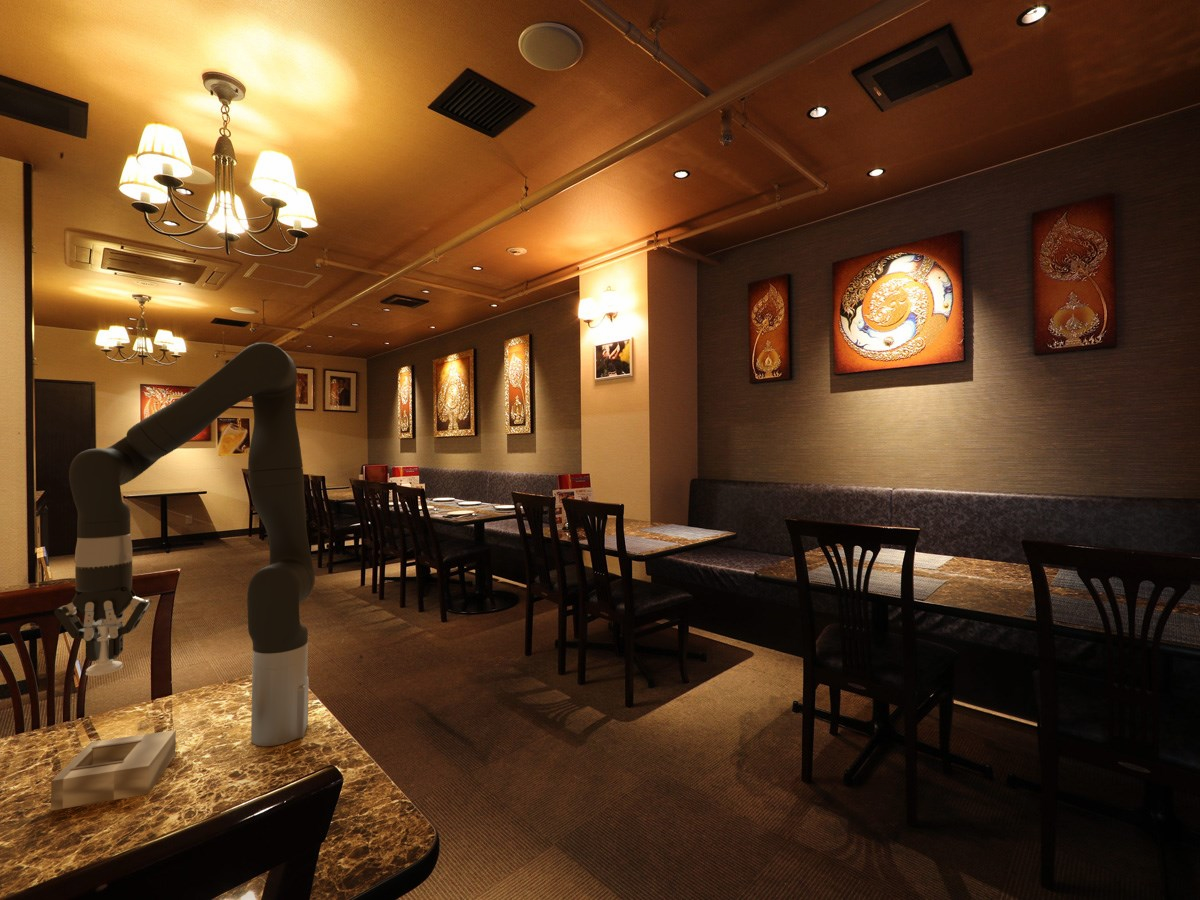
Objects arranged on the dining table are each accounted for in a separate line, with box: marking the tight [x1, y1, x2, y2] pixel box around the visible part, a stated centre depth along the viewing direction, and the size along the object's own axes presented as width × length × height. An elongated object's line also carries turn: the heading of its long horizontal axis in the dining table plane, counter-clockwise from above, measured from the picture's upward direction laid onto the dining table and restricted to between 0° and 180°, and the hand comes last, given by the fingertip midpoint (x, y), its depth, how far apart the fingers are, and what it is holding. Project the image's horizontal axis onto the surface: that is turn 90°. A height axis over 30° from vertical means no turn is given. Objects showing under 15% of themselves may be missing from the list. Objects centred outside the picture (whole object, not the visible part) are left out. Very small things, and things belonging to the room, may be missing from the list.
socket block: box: [50, 729, 177, 811], centre depth 91 cm, size 12×12×5 cm
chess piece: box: [85, 619, 124, 677], centre depth 98 cm, size 5×5×10 cm
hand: (104, 658), depth 98 cm, fingers closed on chess piece
